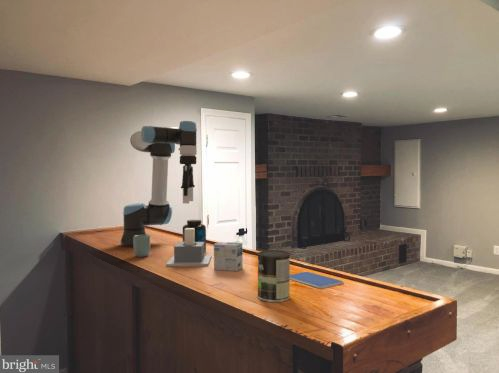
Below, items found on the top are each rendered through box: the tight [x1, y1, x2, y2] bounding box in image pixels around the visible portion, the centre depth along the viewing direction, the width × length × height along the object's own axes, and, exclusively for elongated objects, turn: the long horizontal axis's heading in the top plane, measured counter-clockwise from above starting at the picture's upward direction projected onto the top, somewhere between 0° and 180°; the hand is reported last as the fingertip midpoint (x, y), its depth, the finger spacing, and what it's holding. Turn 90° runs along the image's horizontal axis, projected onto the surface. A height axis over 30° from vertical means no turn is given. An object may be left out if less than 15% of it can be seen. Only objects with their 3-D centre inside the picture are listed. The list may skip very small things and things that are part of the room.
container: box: [182, 219, 207, 253], centre depth 199 cm, size 12×12×16 cm
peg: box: [185, 228, 195, 245], centre depth 175 cm, size 4×4×14 cm
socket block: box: [165, 241, 212, 267], centre depth 175 cm, size 18×18×8 cm
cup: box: [133, 234, 151, 258], centre depth 187 cm, size 8×8×10 cm
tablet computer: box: [290, 271, 344, 290], centre depth 143 cm, size 19×13×1 cm, turn 36°
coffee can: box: [257, 249, 291, 303], centre depth 122 cm, size 10×10×14 cm
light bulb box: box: [213, 241, 244, 272], centre depth 161 cm, size 11×7×11 cm, turn 71°
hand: (188, 202), depth 175 cm, fingers open, 13 cm apart
